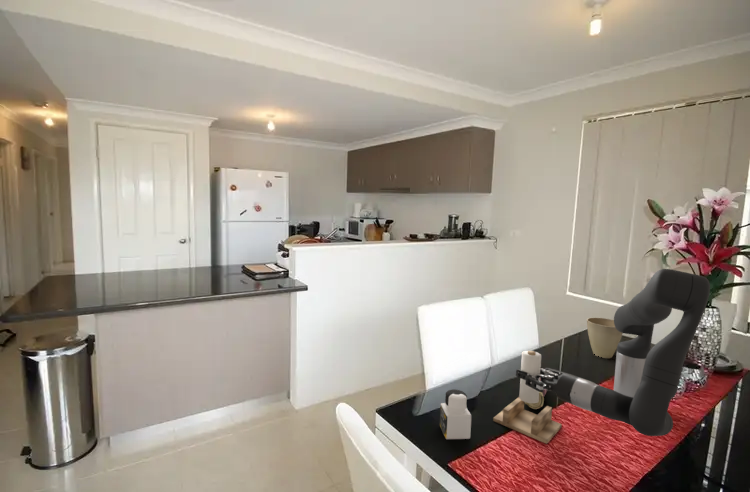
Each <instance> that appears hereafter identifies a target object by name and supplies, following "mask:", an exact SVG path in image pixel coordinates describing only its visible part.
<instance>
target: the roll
mask: <svg viewBox="0 0 750 492" xmlns="http://www.w3.org/2000/svg"><path fill="white" fill-rule="evenodd" d="M520 362H521V363H520V370H522V371H525V372H527V373H530V374H534V375H536V374H540V369H541V367H542V354H541V353H539V352H537V351H534V350H523V351H522V352H521V361H520ZM533 378H534V377H533ZM519 379H520V380H519V382H520V383H519V395H518V397H519V398H520V399H521V400H522V401H524V403H525V402H527V403H538V401H539V391H537V390H535V389H533V388H531V387H529V386H527V385H526V384H525V382H526V380H524V379H521V378H519ZM535 379H536V378H535ZM539 381H540V377H539Z"/></svg>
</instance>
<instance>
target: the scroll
mask: <svg viewBox="0 0 750 492" xmlns="http://www.w3.org/2000/svg"><path fill="white" fill-rule="evenodd" d="M540 381H541V377H540ZM547 392H548V390H546V389H544V390H543V393H541V392H539V401H538V403H527V402H524V405H527V406H528V407H529V408H531V409H533V410H537V409H541V408H543V406H544V401H545V398H544V397H545V395H546V394H547Z"/></svg>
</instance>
